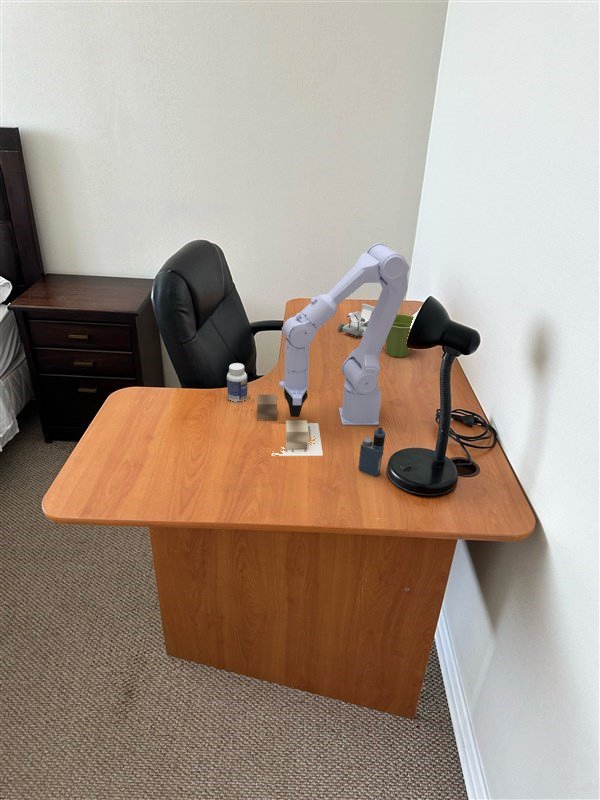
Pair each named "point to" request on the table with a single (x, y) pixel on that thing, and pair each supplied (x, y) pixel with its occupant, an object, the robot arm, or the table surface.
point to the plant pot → (399, 336)
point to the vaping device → (372, 453)
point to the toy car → (358, 321)
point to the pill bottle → (237, 382)
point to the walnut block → (266, 406)
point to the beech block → (296, 434)
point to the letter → (312, 449)
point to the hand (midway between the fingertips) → (294, 415)
